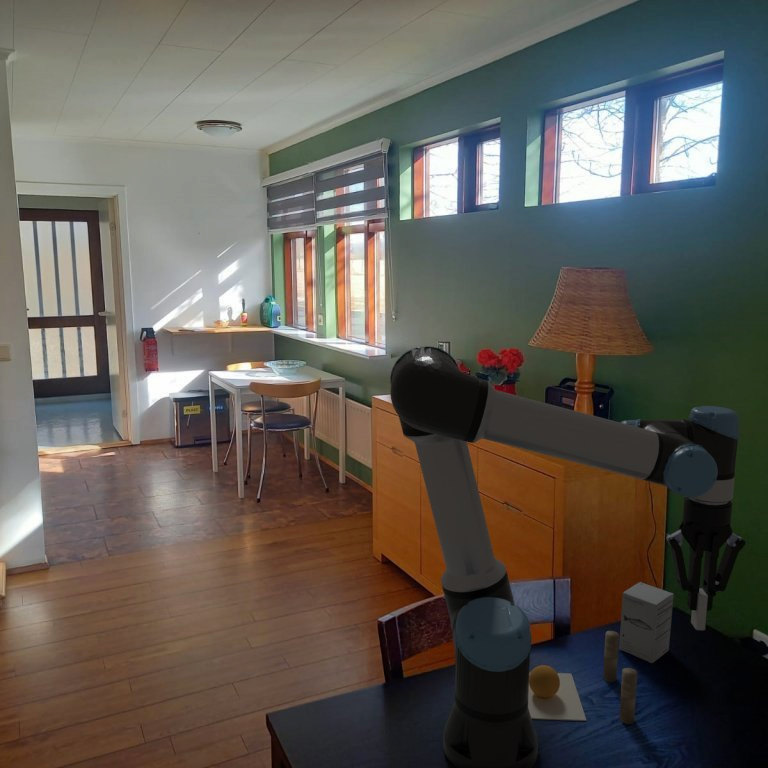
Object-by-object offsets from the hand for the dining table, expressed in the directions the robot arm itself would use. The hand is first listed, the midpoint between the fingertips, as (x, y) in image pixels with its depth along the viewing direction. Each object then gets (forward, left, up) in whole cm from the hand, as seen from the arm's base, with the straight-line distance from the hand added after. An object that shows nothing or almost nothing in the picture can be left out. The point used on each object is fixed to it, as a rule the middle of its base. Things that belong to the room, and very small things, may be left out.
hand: (697, 626), depth 130 cm
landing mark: (-27, 0, -14) cm, 31 cm away
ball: (-26, 0, -12) cm, 29 cm away
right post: (-13, -6, -14) cm, 20 cm away
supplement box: (-4, +16, -15) cm, 22 cm away
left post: (-13, +6, -14) cm, 20 cm away
